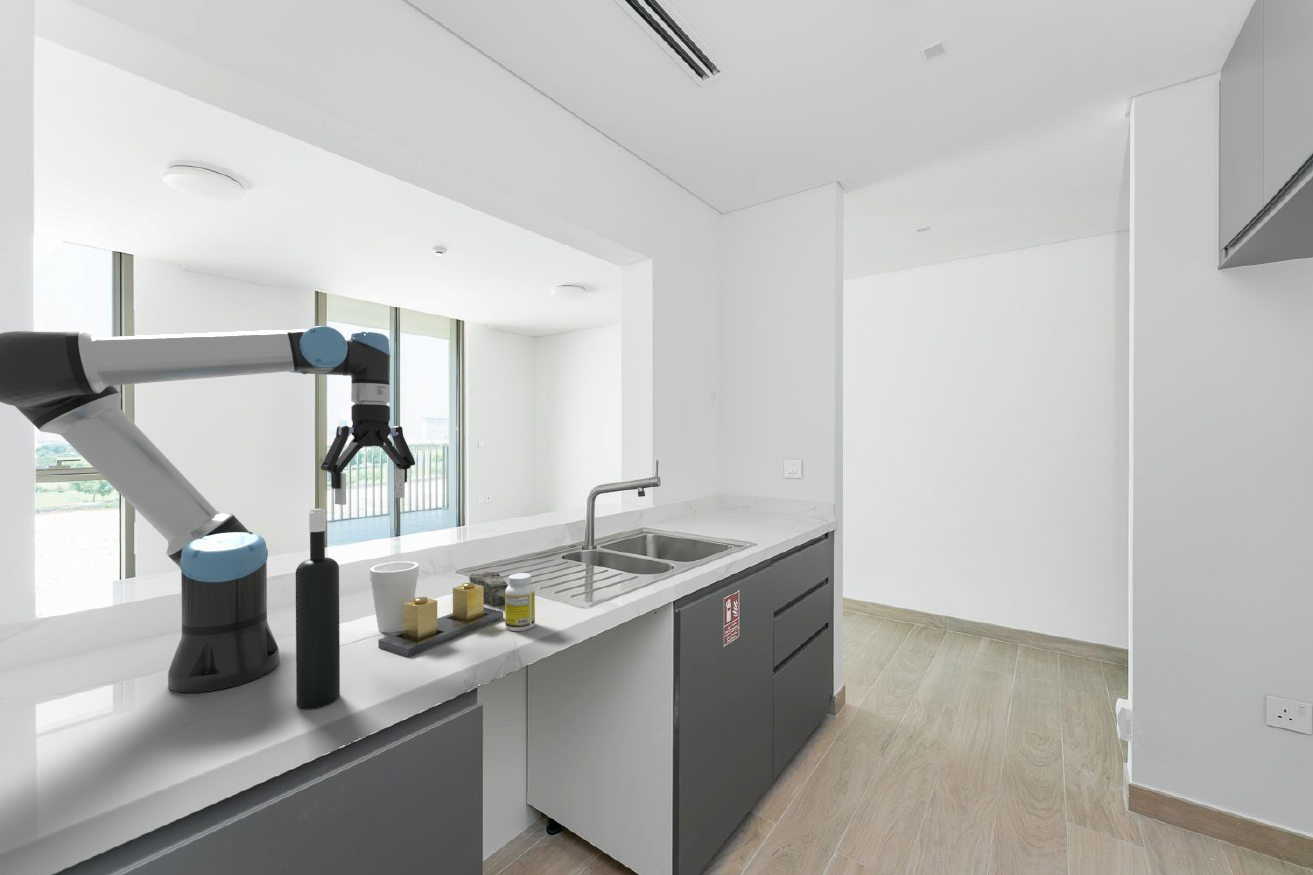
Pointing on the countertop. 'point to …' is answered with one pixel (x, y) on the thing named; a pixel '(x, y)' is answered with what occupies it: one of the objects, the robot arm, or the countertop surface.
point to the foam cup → (393, 592)
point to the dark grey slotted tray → (438, 633)
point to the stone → (491, 587)
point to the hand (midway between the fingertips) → (371, 500)
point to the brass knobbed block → (468, 602)
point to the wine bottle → (317, 622)
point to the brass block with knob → (419, 619)
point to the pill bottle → (519, 603)
